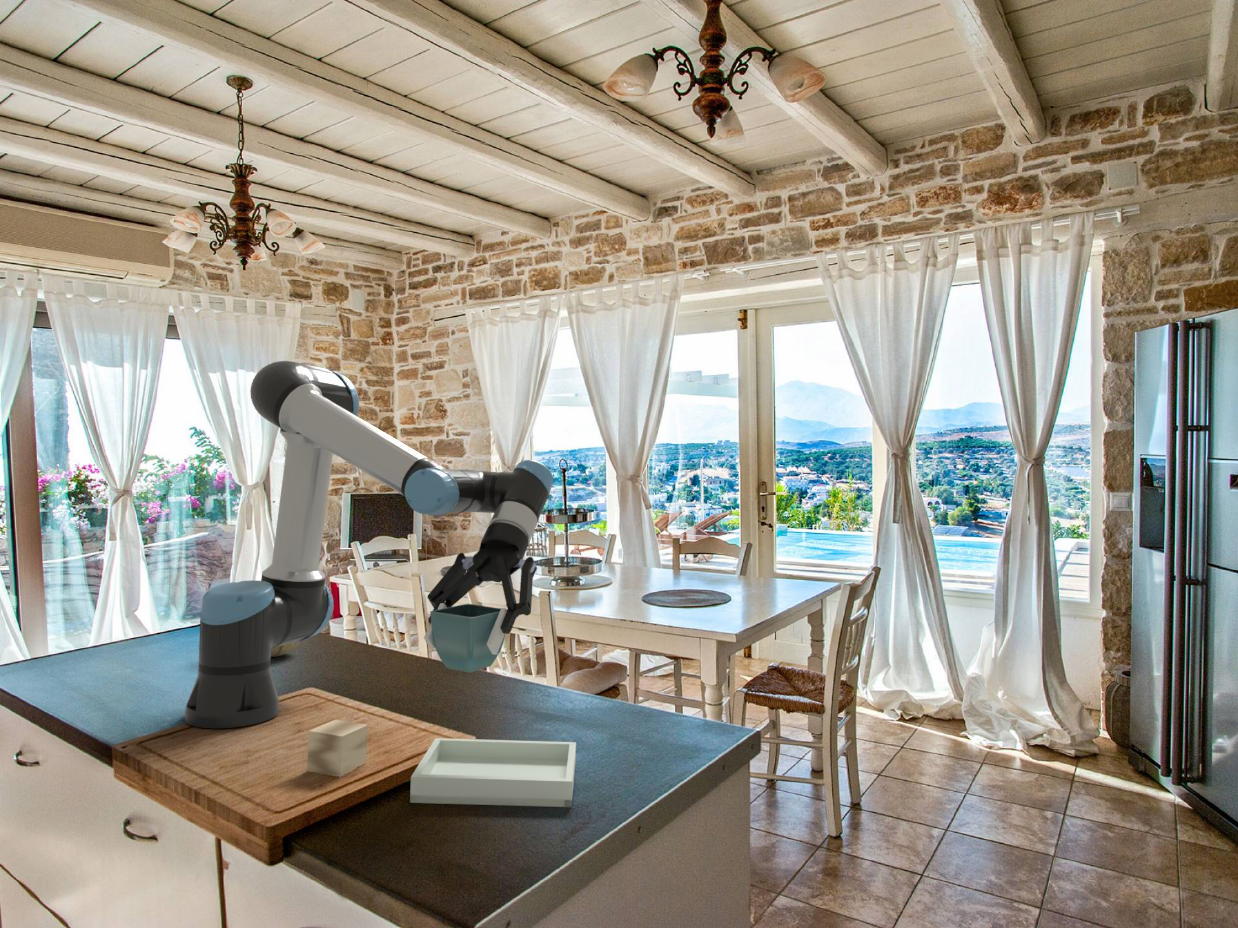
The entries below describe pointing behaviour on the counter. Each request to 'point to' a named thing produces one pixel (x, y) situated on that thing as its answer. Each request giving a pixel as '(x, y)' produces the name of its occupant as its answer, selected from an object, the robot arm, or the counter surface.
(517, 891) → the counter surface
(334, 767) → the beech block
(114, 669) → the counter surface
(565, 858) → the counter surface
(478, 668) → the flower pot
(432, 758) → the tray
